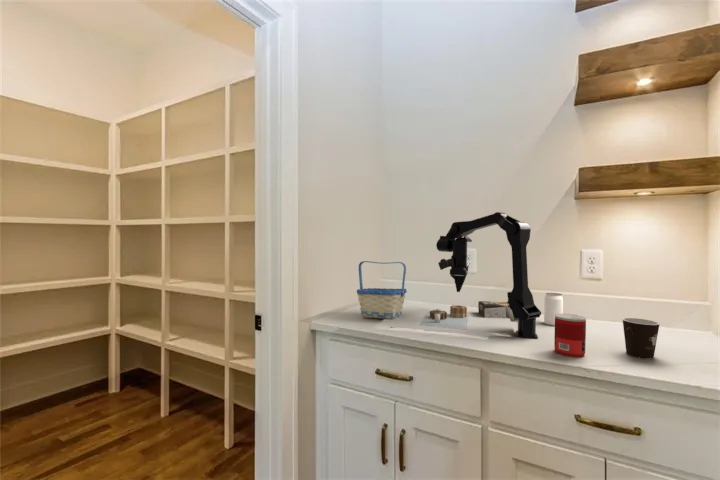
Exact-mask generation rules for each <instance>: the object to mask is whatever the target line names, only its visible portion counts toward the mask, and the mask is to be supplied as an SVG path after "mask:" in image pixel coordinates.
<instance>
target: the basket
mask: <svg viewBox="0 0 720 480" xmlns="http://www.w3.org/2000/svg"><path fill="white" fill-rule="evenodd" d="M364 263H371V264H384V265H386V264H387V265H388V264H390V262H378V261H369V260H364V261H360V262H359V264H358V277H359V278H358V279H359V281H358V282H359V289H356V294H357V297H358V302H359V306H360V307H359V309H360V314H361V318H368V319H369V318H371V319H380V320H381V319H384V320H385V319H388V320H393V319H396V318H399V317H401V316H402V313H403V312H402V310H403V306H404V303H405V302H404V301H405V299H406V293H407V288H405V281H406V280H405V279H406V273H407V267H406V264H405V263H404V262H402V261H397V262H395V261H394V262H391V264H401V265H402V266H403V274H402V283H401V288H376V287H374V288H369V287H368V288H363V276H362V265H363V264H364Z"/></svg>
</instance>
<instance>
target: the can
mask: <svg viewBox="0 0 720 480" xmlns="http://www.w3.org/2000/svg"><path fill="white" fill-rule="evenodd" d="M543 312H544V313H543V315H544V316H543V323H544V324H545V325H546V326H547V325H548V326H551V325H552V326H551V327H555V315H556V314H564V298H563V294H562V293H556V292H545V296H544V311H543Z"/></svg>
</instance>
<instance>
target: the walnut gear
mask: <svg viewBox="0 0 720 480" xmlns="http://www.w3.org/2000/svg"><path fill="white" fill-rule="evenodd" d="M429 312H430V318H431V319H435V314H440V319H442V320H444V319H447V314H448V313H447V311H446V310H441V309H440V308H437V309H433V310H430V311H429Z"/></svg>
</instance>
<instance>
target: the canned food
mask: <svg viewBox="0 0 720 480" xmlns="http://www.w3.org/2000/svg"><path fill="white" fill-rule="evenodd" d="M586 333H587V318H586V317H585V316H583V315H578V314H572V313H563V314H556V315H555V326H554V342H553V343H554V346H553V348H554V351H555V353H557V354H559V355H561V354H562V355H561V356H565V355H566V357H570V356H572V358H581V356H582V357H584V356H585V354H586V336H587V334H586Z"/></svg>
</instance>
